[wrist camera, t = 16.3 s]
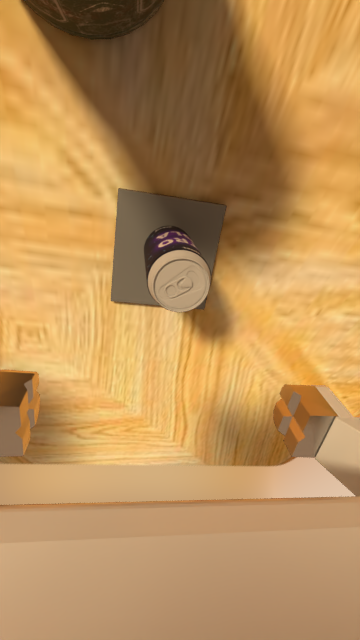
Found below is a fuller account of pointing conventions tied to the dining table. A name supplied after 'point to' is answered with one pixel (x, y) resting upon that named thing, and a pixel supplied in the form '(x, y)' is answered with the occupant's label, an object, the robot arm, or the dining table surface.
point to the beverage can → (175, 270)
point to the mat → (141, 220)
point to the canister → (95, 15)
